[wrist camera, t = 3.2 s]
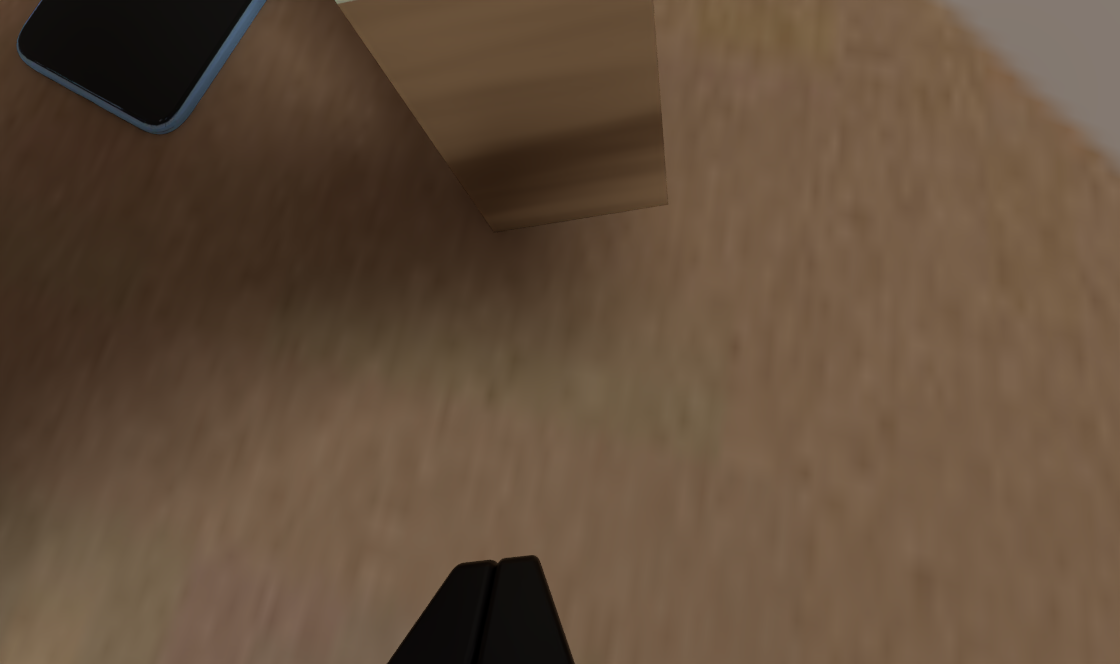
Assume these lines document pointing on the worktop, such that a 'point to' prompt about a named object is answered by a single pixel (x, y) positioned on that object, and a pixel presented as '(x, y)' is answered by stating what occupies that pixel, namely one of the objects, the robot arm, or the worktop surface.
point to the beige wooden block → (530, 99)
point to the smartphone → (136, 52)
